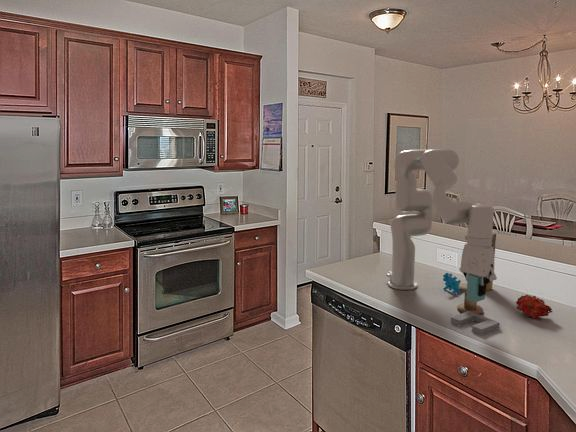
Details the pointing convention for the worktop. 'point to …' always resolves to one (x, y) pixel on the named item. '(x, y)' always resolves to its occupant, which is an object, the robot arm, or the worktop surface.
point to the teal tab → (473, 288)
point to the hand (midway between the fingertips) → (476, 293)
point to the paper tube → (489, 285)
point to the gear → (451, 283)
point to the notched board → (483, 322)
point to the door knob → (468, 303)
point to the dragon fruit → (533, 306)
